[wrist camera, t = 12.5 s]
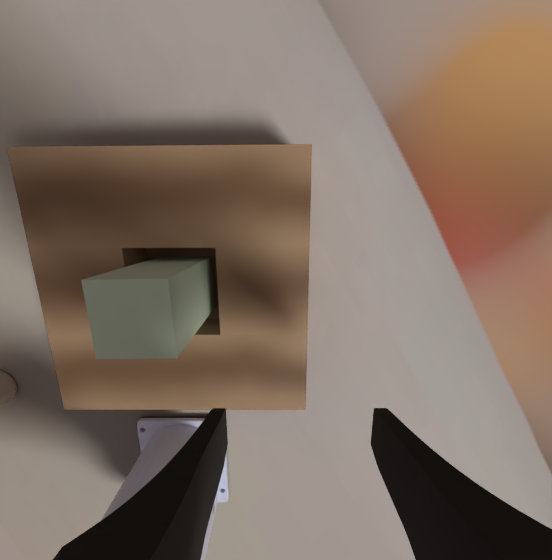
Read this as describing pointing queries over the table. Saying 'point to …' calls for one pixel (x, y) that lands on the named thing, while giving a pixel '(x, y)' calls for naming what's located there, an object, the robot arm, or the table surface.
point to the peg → (149, 307)
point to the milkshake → (6, 388)
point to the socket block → (175, 243)
